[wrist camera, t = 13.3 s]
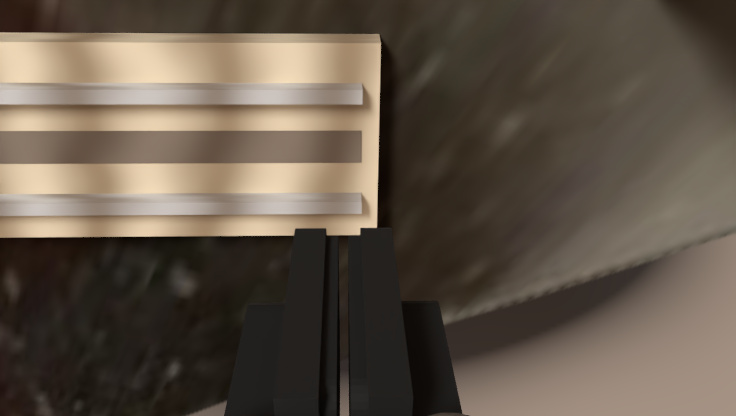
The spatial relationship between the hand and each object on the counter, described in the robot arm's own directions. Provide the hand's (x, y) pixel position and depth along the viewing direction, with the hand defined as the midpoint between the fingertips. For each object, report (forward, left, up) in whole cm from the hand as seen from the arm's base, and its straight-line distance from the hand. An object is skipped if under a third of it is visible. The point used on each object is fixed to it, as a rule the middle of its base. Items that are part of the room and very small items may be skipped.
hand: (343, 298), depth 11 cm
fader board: (+8, -15, -27) cm, 32 cm away
